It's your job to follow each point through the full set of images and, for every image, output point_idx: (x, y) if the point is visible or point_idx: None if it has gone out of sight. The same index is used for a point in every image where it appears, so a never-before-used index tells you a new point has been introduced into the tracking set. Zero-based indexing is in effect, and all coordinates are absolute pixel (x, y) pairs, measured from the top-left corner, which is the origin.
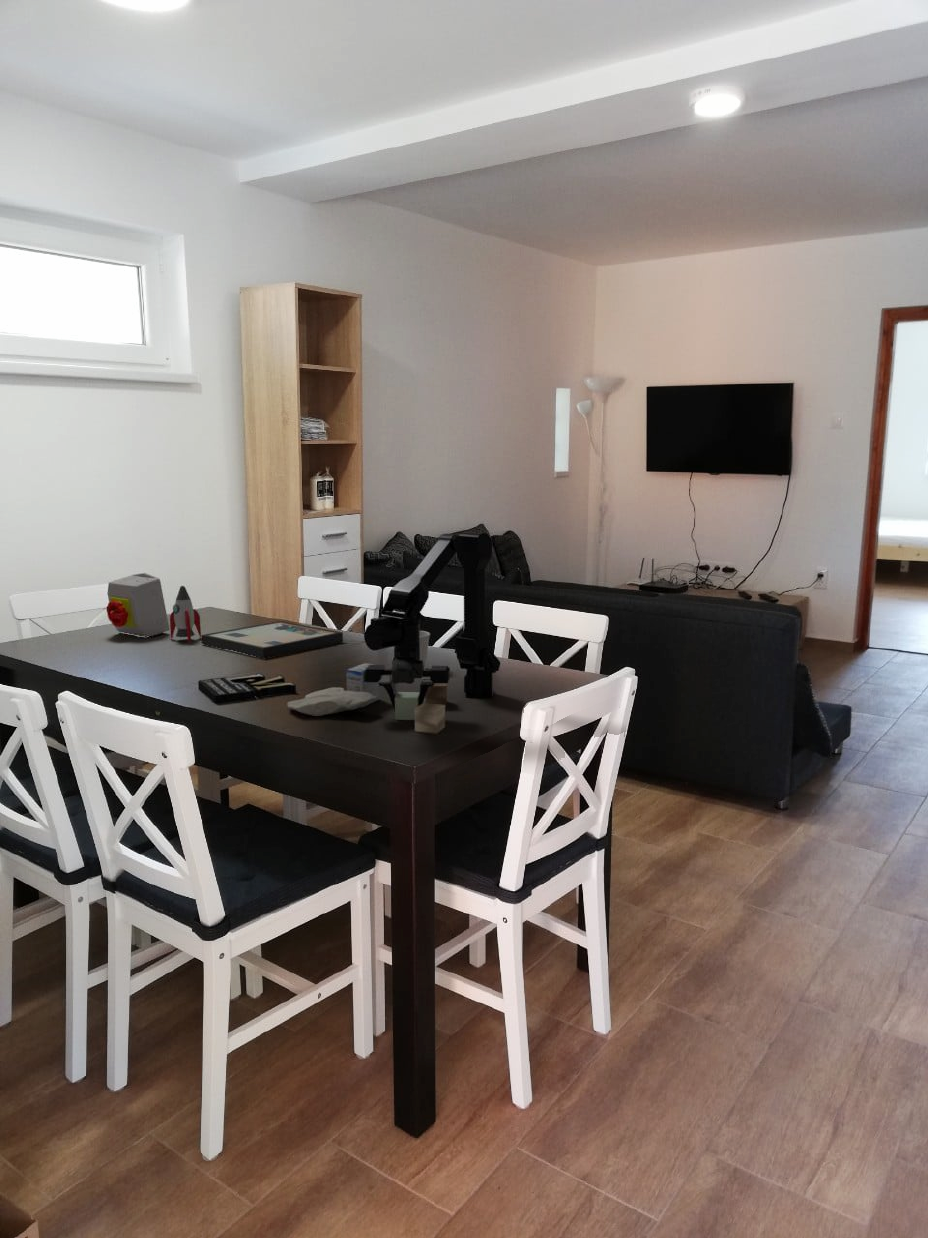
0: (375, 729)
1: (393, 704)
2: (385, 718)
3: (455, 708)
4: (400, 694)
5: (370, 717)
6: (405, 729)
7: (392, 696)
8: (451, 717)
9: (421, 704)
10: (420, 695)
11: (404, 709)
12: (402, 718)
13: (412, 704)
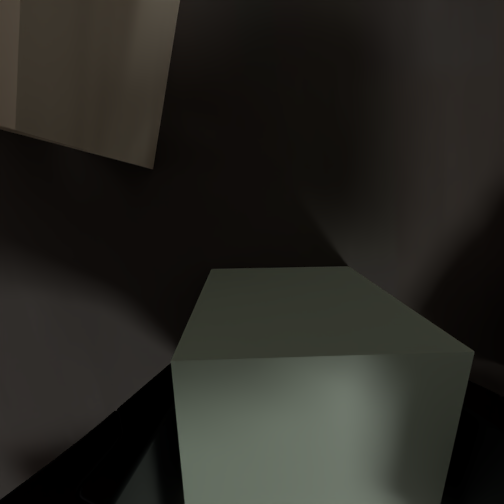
0: (471, 26)
1: None
2: (406, 286)
3: None
4: (401, 487)
5: (492, 298)
6: (258, 40)
7: (497, 411)
8: (19, 338)
9: (14, 21)
10: (135, 442)
11: (307, 292)
12: (306, 269)
13: (240, 317)
